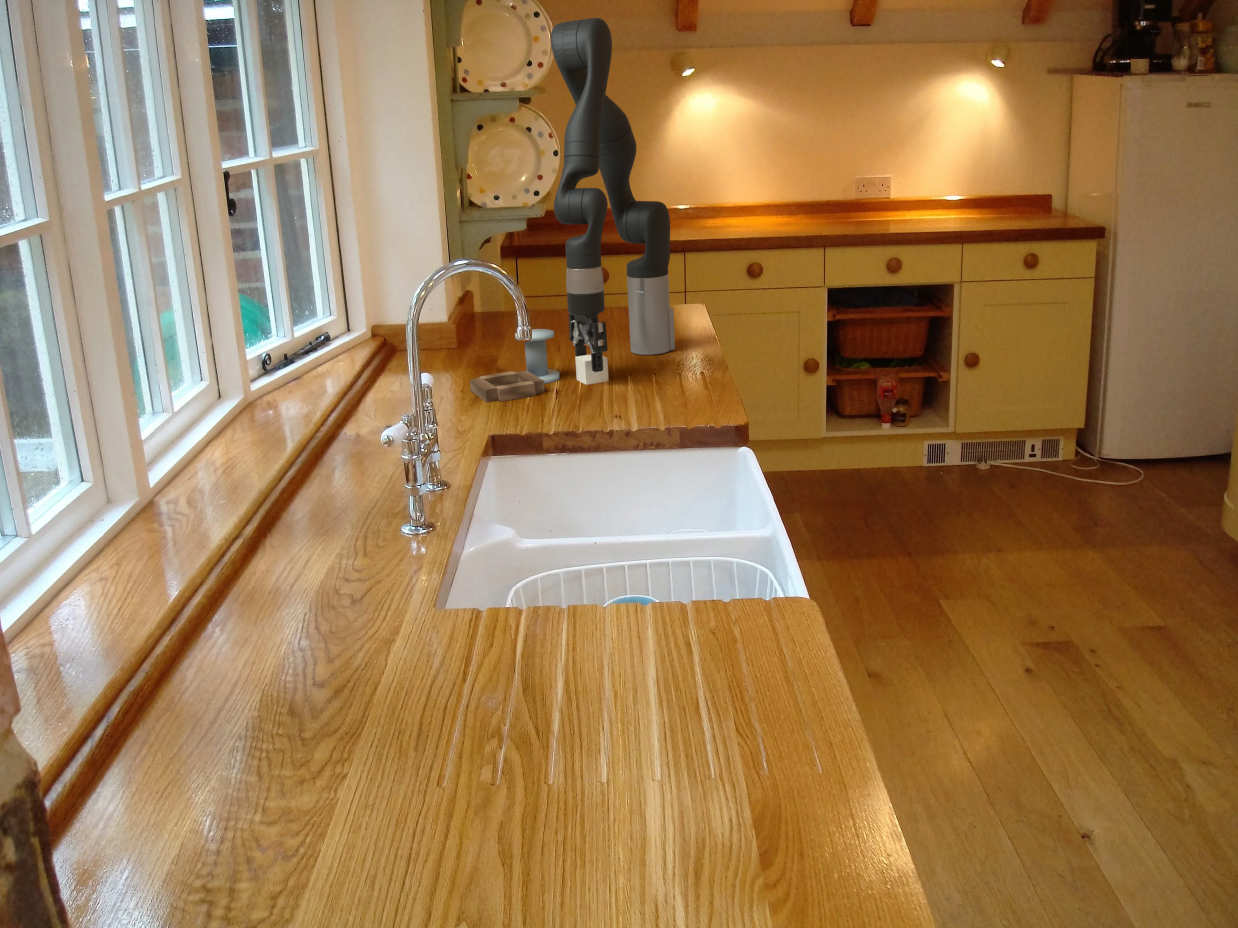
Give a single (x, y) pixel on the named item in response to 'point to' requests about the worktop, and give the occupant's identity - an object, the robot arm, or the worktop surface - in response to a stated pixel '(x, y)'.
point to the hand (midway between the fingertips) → (589, 367)
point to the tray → (507, 386)
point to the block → (590, 370)
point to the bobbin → (539, 355)
